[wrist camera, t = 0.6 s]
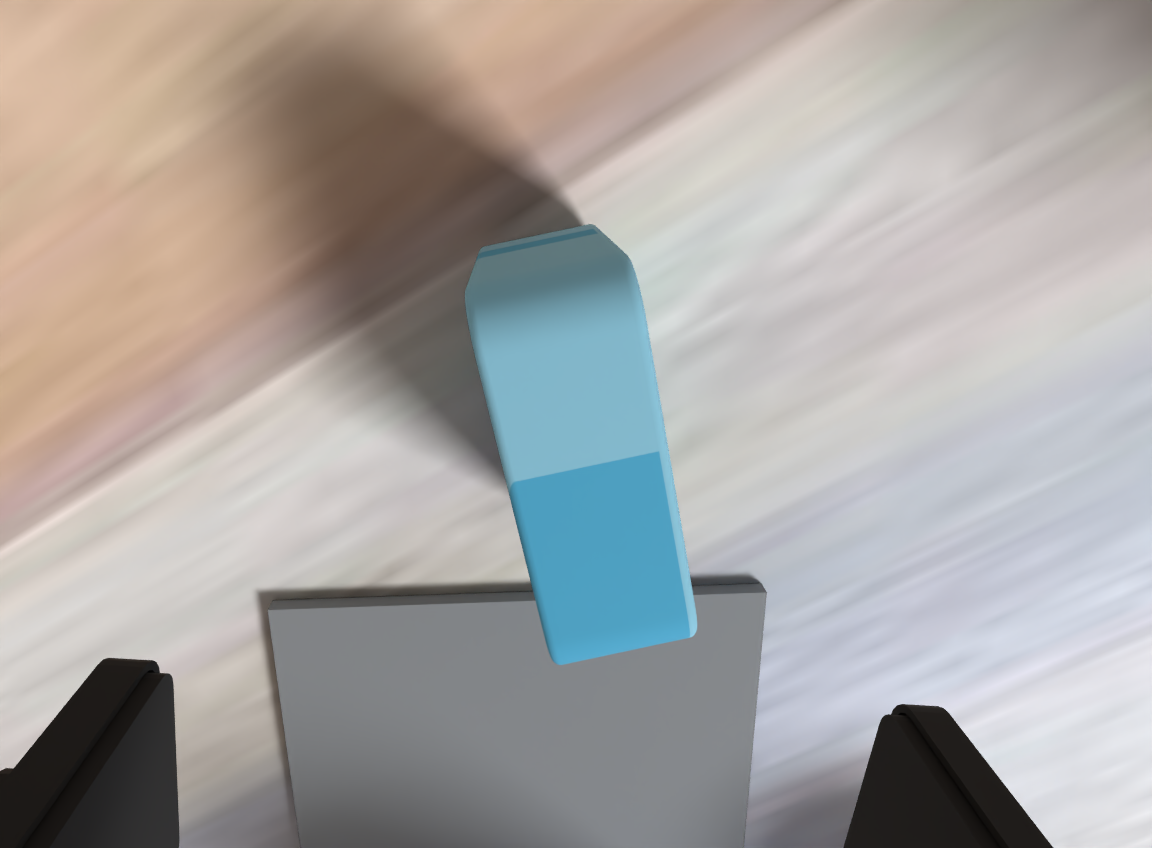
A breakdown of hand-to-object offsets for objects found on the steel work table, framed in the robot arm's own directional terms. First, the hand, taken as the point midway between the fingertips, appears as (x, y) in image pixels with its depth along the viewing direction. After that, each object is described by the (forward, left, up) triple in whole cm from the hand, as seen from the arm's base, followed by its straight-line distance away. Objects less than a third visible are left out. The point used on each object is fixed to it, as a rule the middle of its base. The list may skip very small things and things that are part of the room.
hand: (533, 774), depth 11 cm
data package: (-2, +1, -24) cm, 24 cm away
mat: (0, +19, -23) cm, 30 cm away
